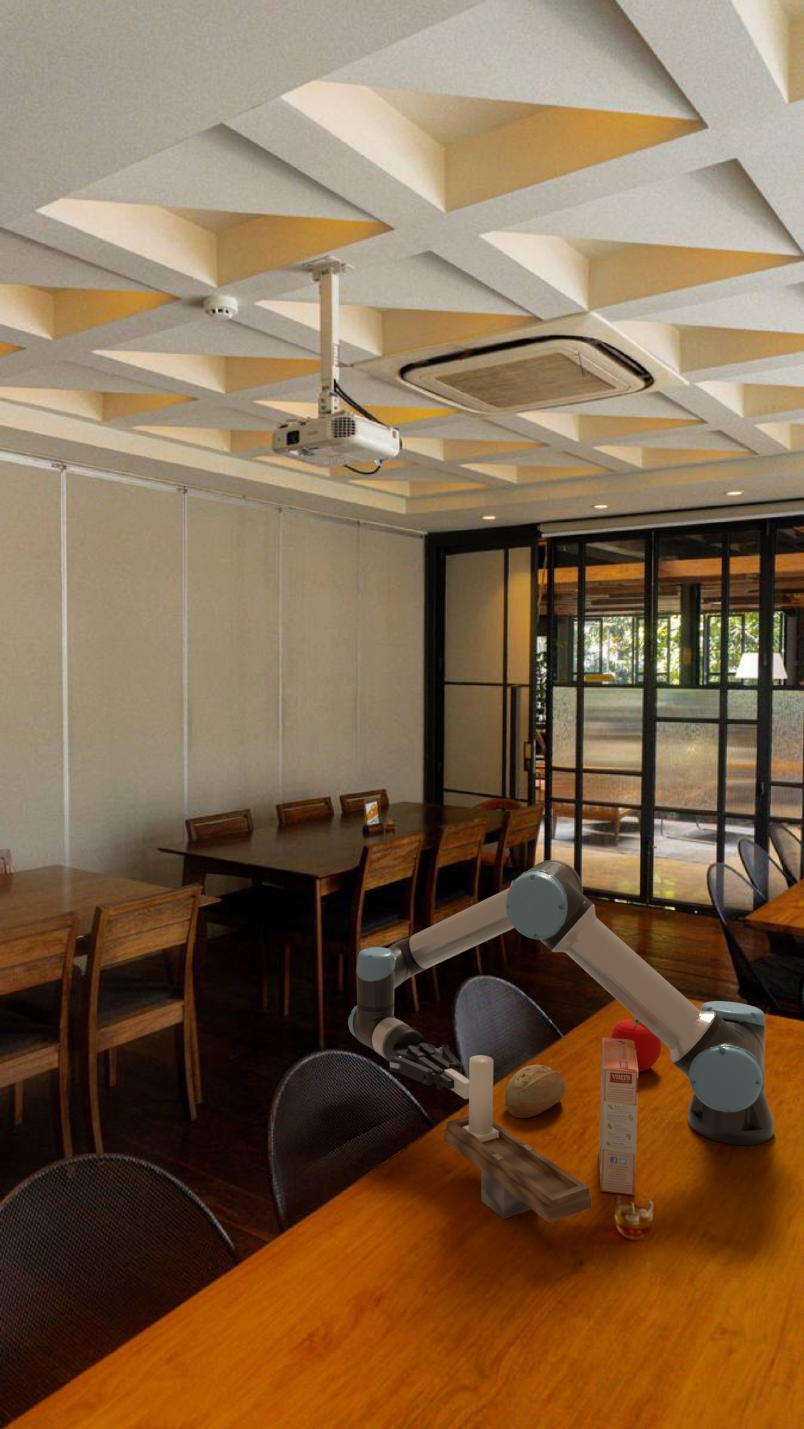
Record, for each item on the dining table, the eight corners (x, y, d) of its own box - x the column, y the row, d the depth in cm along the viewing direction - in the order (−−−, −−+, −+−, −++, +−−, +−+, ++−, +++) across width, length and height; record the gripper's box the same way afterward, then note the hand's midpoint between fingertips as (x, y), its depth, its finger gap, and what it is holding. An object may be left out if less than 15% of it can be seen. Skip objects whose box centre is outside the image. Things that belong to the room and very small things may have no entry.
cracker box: (637, 1197, 153) (639, 1070, 152) (599, 1193, 154) (601, 1067, 154) (633, 1155, 167) (635, 1038, 166) (599, 1151, 168) (600, 1035, 167)
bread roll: (577, 1102, 188) (578, 1063, 187) (535, 1129, 176) (536, 1087, 176) (537, 1088, 194) (537, 1050, 194) (494, 1113, 183) (494, 1072, 183)
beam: (590, 1240, 141) (591, 1185, 141) (548, 1256, 137) (549, 1200, 137) (482, 1157, 165) (482, 1111, 165) (443, 1169, 161) (444, 1121, 161)
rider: (498, 1137, 158) (499, 1062, 158) (477, 1143, 156) (478, 1067, 155) (483, 1126, 162) (484, 1053, 161) (462, 1132, 160) (463, 1058, 159)
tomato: (598, 1066, 205) (599, 1017, 205) (630, 1054, 212) (631, 1007, 211) (637, 1082, 197) (638, 1031, 196) (669, 1070, 203) (670, 1021, 203)
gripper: (428, 1056, 186) (499, 1103, 165) (369, 1070, 179) (436, 1120, 159) (428, 1019, 185) (499, 1061, 165) (369, 1031, 179) (436, 1076, 158)
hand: (468, 1090), depth 162 cm, fingers closed
